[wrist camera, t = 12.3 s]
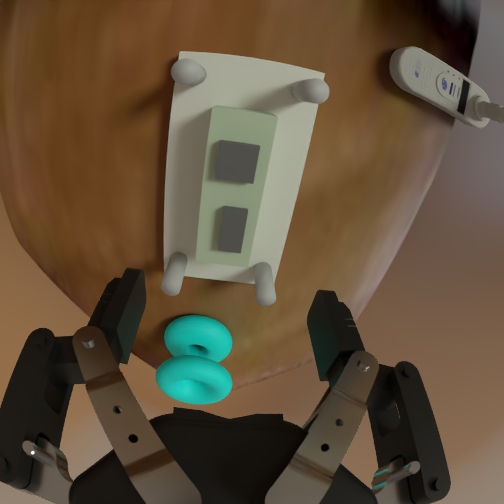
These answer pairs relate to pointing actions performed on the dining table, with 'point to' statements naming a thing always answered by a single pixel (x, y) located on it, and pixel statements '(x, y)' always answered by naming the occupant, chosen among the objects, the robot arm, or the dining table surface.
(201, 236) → the pale green block
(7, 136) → the dining table surface
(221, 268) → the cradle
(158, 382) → the donuts
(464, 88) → the electronic device
